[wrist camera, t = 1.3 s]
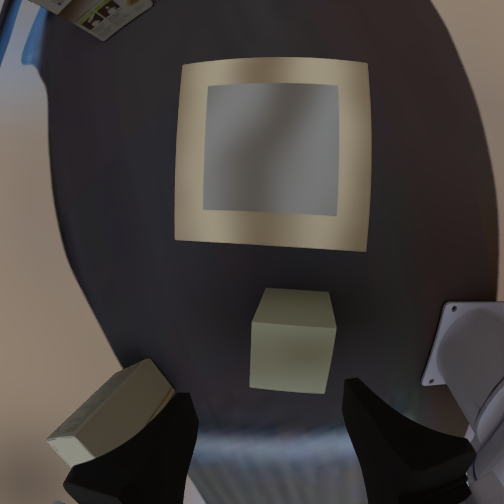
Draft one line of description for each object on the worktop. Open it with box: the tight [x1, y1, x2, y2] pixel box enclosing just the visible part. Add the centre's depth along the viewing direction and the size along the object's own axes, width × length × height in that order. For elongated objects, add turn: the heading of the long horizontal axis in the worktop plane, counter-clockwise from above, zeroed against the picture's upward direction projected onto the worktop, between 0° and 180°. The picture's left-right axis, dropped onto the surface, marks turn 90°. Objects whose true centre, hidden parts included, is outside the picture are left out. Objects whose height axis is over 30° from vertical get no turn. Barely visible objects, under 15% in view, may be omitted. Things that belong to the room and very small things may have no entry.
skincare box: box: [46, 358, 175, 468], centre depth 20 cm, size 6×4×12 cm
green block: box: [250, 288, 337, 394], centre depth 18 cm, size 5×5×6 cm
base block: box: [175, 57, 371, 252], centre depth 18 cm, size 12×12×3 cm
